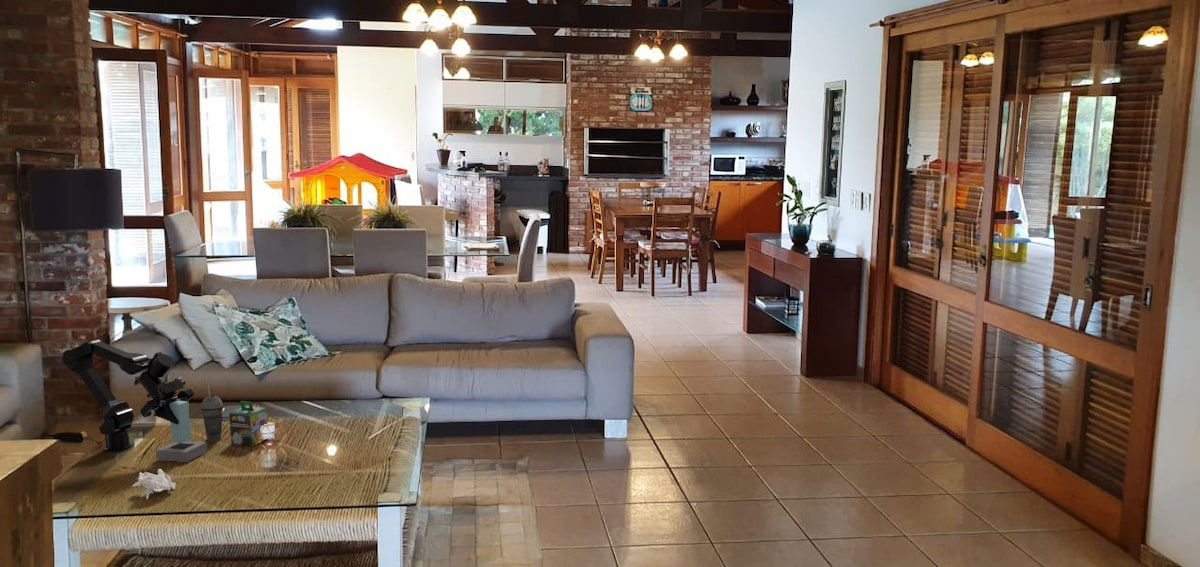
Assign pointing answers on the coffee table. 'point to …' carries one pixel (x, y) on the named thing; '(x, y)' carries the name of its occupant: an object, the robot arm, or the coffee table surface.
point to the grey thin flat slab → (232, 408)
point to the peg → (180, 422)
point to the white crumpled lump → (154, 482)
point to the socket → (181, 451)
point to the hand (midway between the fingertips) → (183, 421)
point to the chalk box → (247, 424)
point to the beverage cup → (212, 416)
